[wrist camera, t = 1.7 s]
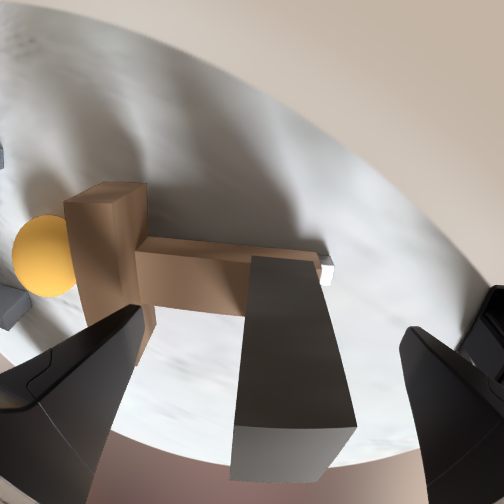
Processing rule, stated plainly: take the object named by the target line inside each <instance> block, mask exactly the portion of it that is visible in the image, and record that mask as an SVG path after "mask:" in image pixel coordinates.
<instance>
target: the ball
mask: <svg viewBox="0 0 504 504" xmlns="http://www.w3.org/2000/svg"><path fill="white" fill-rule="evenodd" d="M12 263H13V268H14V271H15V274H16V276H17V278H18V279H19V281H20V282H21V284H22V285H23V286H24V287H25V288H26V289H27V290H29V291H30V292H32V293H34V294H36V295H39V296H43V297H54V296H58V295H61V294H63V293H65V292H66V291H68V290H69V289H70V288H72V287H73V285H74V284H75V283H76V278H75V274H74V269H73V264H72V258H71V253H70V247H69V241H68V234H67V228H66V220H65V219H63V218H61V217H58V216H54V215H42V216H38V217H36V218H33V219H31V220H30V221H29V222H27V223H26V224H25V225H24V226H23V227H22V228H21V229H20V231H19V232H18V234H17V236H16V238H15V241H14V244H13V249H12Z"/></svg>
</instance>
